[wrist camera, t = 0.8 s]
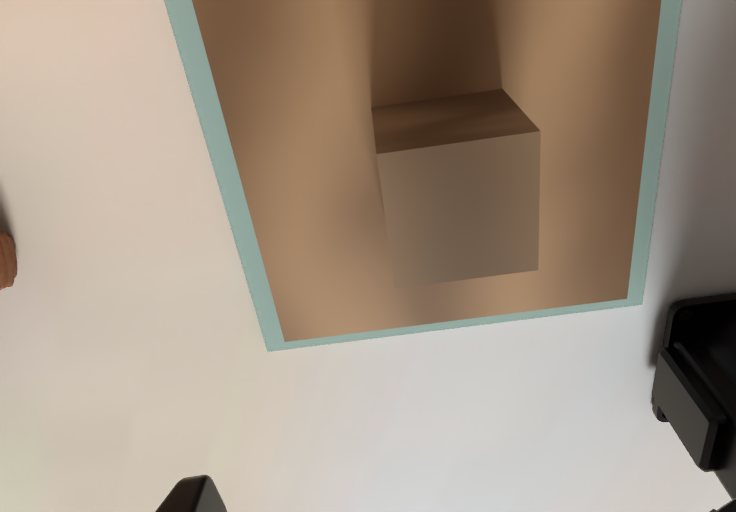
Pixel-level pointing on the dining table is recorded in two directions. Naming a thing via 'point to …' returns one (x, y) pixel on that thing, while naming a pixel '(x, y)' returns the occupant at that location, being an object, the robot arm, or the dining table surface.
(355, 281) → the walnut lid
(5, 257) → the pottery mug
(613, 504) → the dining table surface
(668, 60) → the teal mat
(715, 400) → the robot arm
